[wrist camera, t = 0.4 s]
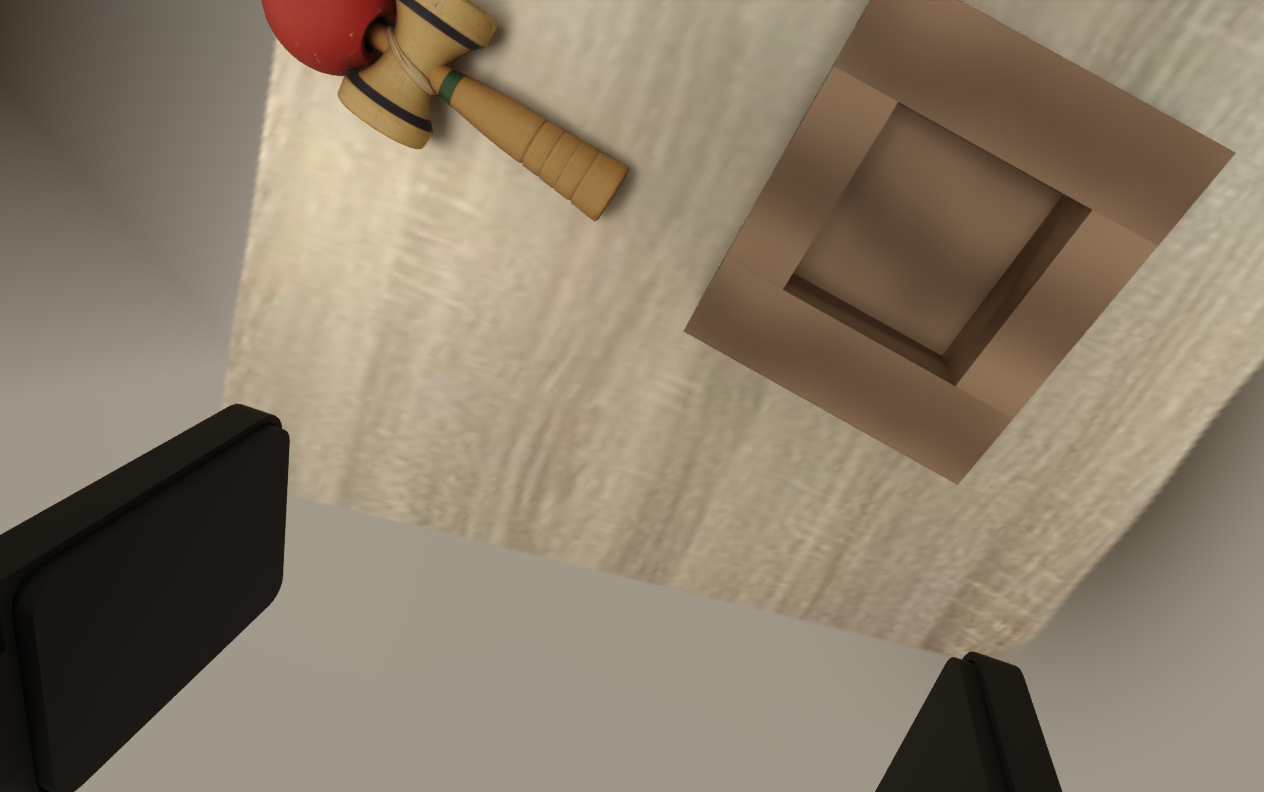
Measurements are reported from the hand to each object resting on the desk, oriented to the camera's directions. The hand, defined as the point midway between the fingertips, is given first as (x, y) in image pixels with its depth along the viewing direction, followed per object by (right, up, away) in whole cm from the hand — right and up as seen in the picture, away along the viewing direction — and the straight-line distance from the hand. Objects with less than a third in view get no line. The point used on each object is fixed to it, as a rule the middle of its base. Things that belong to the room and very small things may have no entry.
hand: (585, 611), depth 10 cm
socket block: (+14, +11, +25) cm, 30 cm away
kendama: (-7, +18, +27) cm, 34 cm away
